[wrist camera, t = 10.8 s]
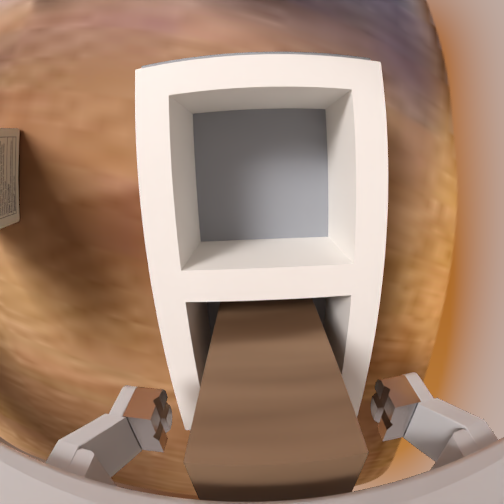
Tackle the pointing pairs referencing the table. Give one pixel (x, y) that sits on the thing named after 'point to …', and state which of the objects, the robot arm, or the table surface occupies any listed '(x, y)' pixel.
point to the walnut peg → (272, 409)
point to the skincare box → (9, 176)
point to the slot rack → (263, 198)
